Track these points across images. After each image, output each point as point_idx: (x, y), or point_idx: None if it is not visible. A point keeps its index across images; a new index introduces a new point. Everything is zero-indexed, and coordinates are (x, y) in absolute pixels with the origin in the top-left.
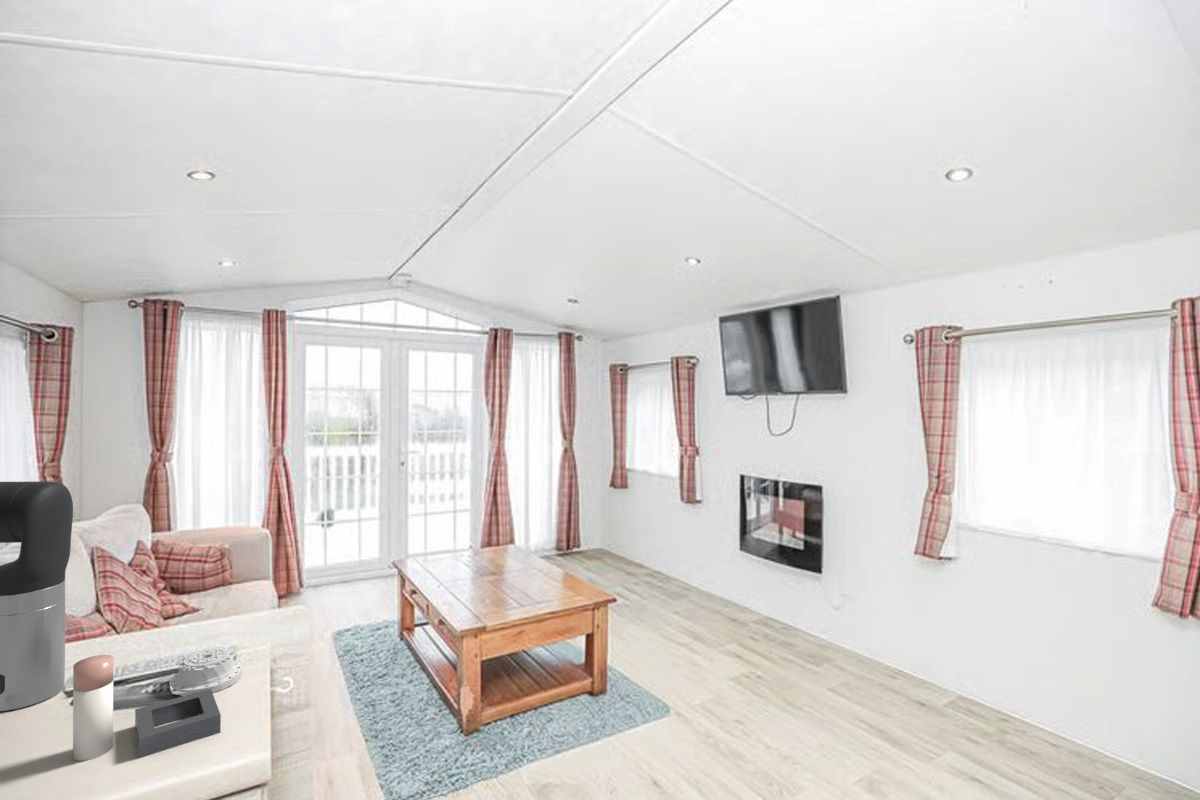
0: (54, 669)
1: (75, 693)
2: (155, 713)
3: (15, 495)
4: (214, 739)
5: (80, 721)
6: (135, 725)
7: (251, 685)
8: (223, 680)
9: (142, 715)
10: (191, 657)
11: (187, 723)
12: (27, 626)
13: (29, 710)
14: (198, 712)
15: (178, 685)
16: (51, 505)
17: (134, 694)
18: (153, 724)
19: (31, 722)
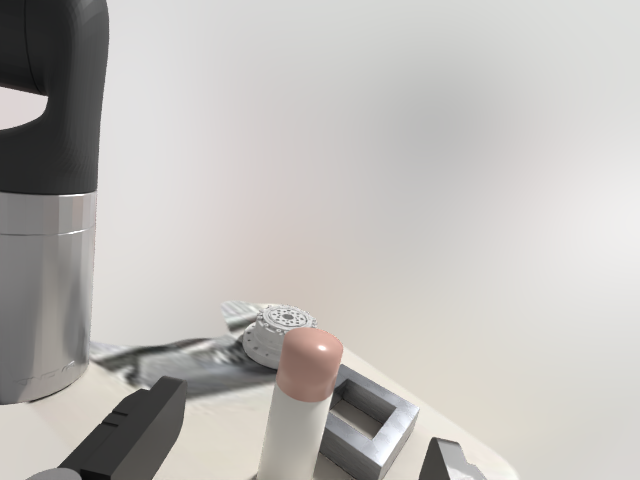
0: (87, 331)
1: (299, 404)
2: None
3: None
4: (423, 443)
5: (301, 452)
6: None
7: (342, 353)
8: None
9: None
10: (270, 317)
11: (402, 427)
12: (59, 259)
13: (66, 399)
14: (342, 396)
15: (271, 355)
16: (102, 22)
17: (211, 366)
18: (358, 432)
19: (96, 426)
